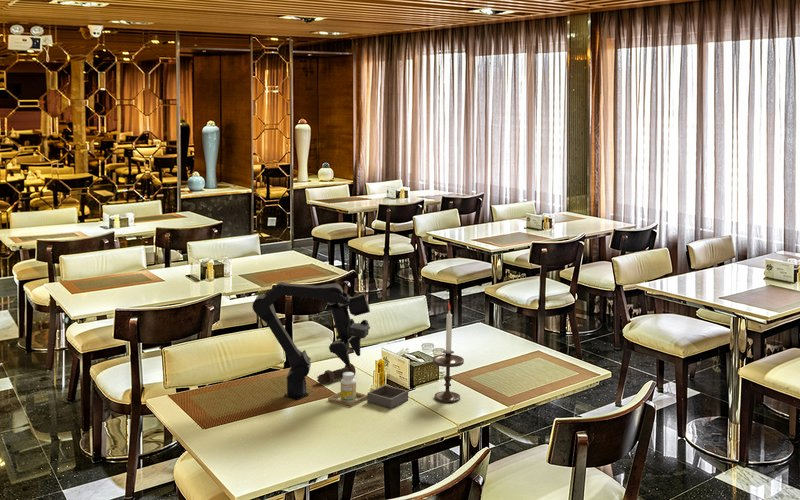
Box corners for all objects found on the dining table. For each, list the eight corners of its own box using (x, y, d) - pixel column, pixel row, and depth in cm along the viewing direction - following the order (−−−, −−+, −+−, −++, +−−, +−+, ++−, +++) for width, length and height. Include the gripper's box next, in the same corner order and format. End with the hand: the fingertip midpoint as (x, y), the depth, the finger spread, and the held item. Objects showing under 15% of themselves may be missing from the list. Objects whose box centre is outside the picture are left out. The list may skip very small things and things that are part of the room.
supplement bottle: (348, 403, 278) (348, 377, 276) (337, 400, 281) (337, 373, 279) (359, 399, 282) (359, 373, 280) (348, 395, 285) (348, 369, 283)
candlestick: (426, 395, 287) (428, 299, 280) (454, 391, 291) (456, 297, 284) (440, 405, 277) (442, 307, 270) (468, 401, 281) (471, 304, 275)
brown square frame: (350, 407, 274) (350, 404, 274) (328, 400, 280) (328, 397, 280) (368, 398, 283) (368, 395, 282) (346, 392, 288) (346, 389, 288)
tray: (391, 409, 273) (391, 399, 273) (367, 402, 279) (367, 392, 278) (408, 400, 281) (408, 390, 281) (384, 394, 287) (384, 384, 287)
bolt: (318, 388, 297) (350, 378, 306) (324, 385, 293) (357, 375, 303) (313, 373, 298) (345, 364, 308) (319, 370, 294) (352, 360, 304)
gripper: (352, 325, 268) (364, 369, 271) (372, 307, 285) (383, 348, 288) (322, 330, 272) (335, 372, 275) (344, 311, 289) (356, 351, 292)
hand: (353, 360), depth 283 cm, fingers open, 9 cm apart
